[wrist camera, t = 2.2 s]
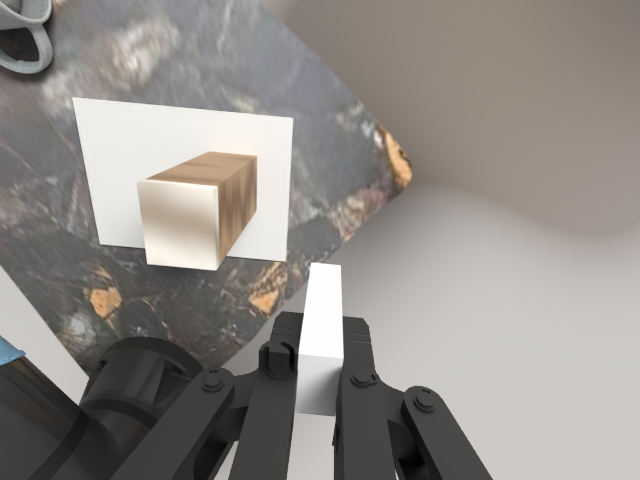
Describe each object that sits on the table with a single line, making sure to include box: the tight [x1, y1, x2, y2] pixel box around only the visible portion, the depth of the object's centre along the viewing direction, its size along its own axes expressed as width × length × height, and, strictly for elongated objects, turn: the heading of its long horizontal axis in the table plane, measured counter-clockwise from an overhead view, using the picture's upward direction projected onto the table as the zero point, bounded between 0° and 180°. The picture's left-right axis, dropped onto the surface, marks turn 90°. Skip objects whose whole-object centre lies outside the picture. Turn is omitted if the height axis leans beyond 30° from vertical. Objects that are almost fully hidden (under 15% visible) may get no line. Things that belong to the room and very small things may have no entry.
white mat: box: [72, 98, 293, 261], centre depth 36 cm, size 16×22×1 cm
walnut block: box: [137, 151, 257, 270], centre depth 29 cm, size 6×5×14 cm
